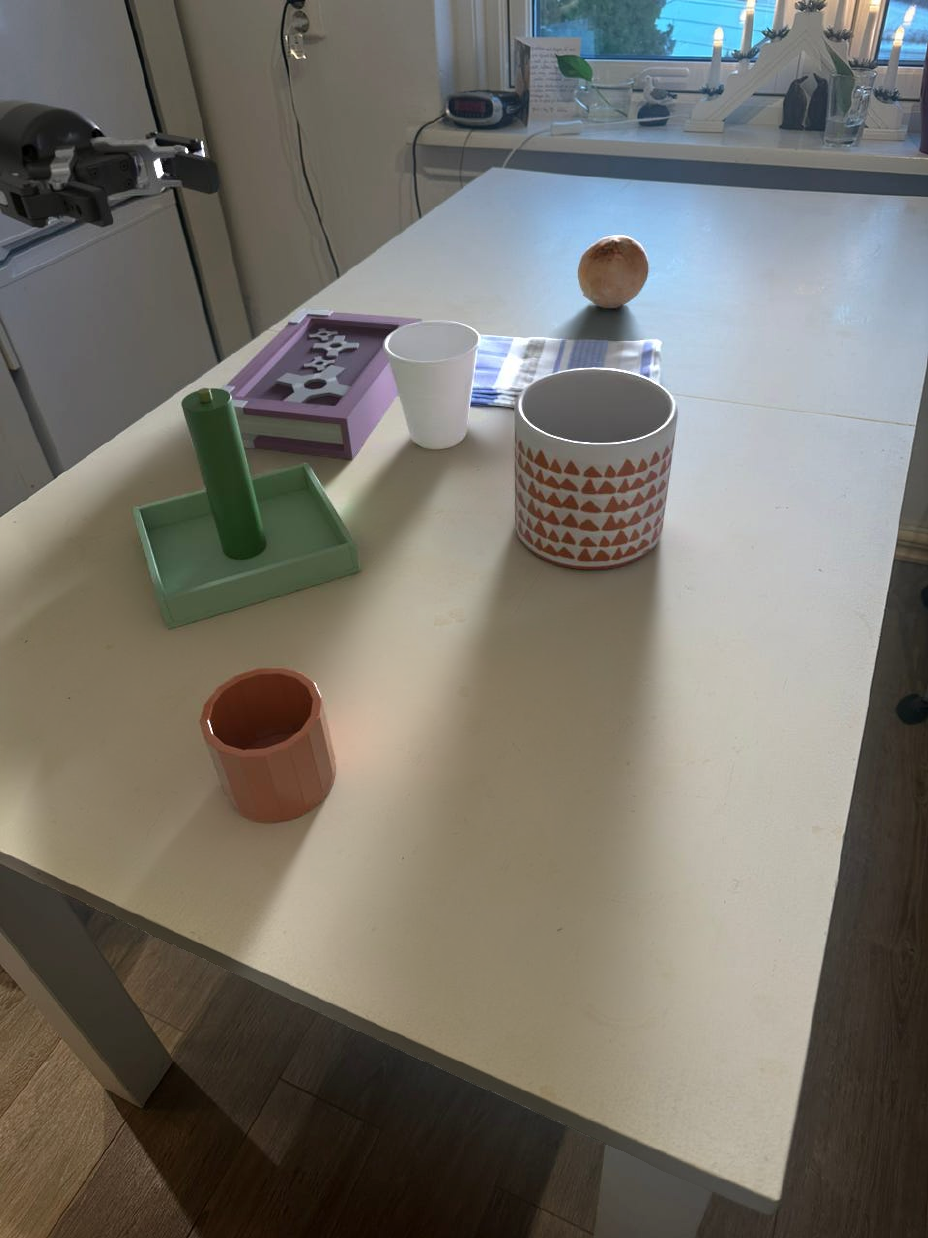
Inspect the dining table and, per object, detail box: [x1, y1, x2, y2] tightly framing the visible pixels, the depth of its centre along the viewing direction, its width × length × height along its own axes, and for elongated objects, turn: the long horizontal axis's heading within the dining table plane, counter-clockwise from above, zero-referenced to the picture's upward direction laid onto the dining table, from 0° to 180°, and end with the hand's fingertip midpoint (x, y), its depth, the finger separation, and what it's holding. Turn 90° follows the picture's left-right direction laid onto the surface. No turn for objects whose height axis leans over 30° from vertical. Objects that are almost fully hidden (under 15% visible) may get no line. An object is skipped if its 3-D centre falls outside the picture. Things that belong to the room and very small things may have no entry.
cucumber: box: [180, 387, 267, 560], centre depth 76 cm, size 4×4×16 cm
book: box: [219, 308, 423, 460], centre depth 102 cm, size 25×16×5 cm, turn 164°
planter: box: [513, 368, 679, 571], centre depth 78 cm, size 14×14×13 cm
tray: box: [131, 462, 361, 630], centre depth 80 cm, size 17×15×3 cm
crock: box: [199, 666, 337, 824], centre depth 59 cm, size 8×8×7 cm
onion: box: [577, 234, 650, 309], centre depth 117 cm, size 10×9×10 cm
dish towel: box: [470, 334, 663, 409], centre depth 103 cm, size 17×24×3 cm
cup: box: [383, 320, 481, 450], centre depth 92 cm, size 10×10×11 cm
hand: (161, 192), depth 58 cm, fingers open, 8 cm apart
